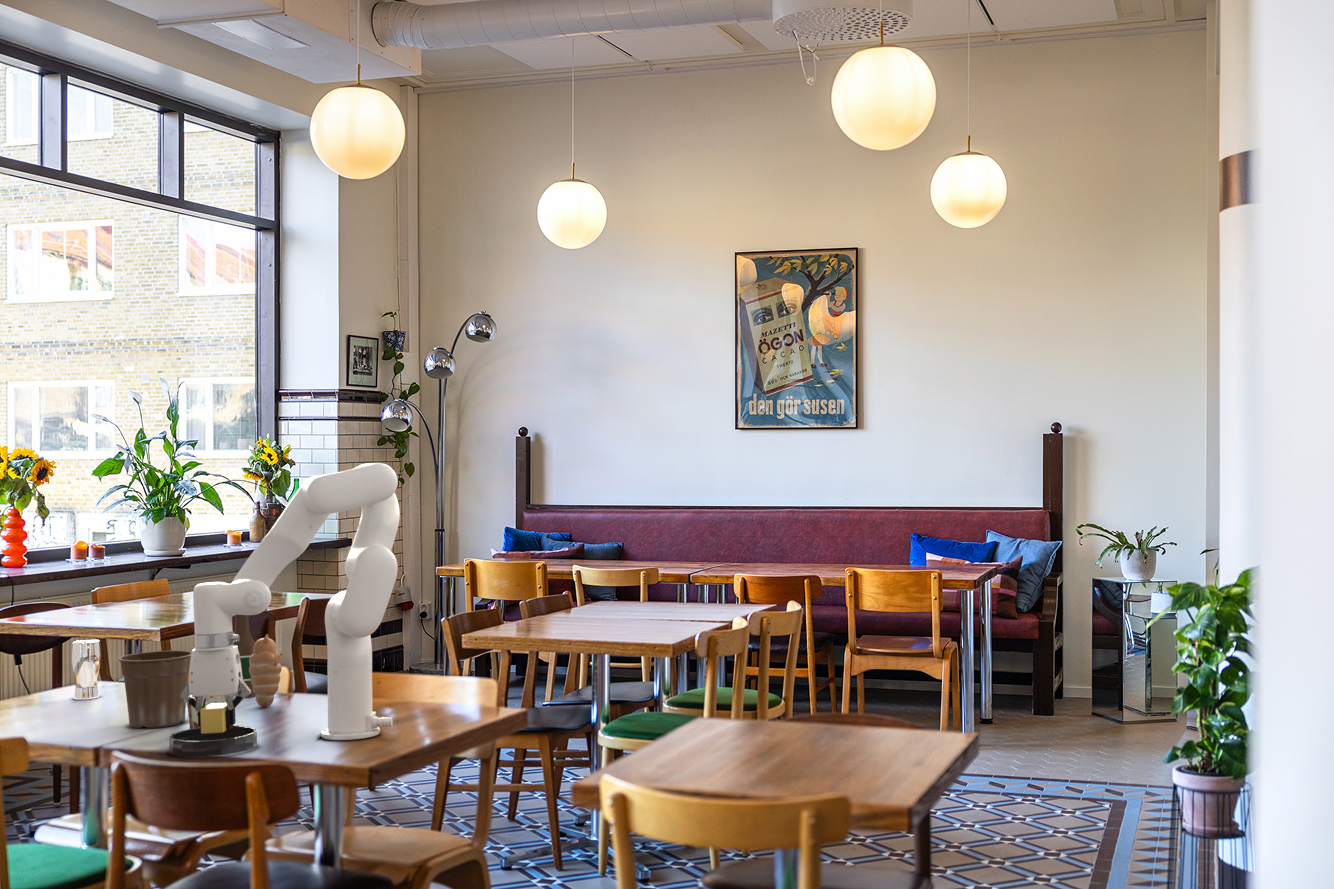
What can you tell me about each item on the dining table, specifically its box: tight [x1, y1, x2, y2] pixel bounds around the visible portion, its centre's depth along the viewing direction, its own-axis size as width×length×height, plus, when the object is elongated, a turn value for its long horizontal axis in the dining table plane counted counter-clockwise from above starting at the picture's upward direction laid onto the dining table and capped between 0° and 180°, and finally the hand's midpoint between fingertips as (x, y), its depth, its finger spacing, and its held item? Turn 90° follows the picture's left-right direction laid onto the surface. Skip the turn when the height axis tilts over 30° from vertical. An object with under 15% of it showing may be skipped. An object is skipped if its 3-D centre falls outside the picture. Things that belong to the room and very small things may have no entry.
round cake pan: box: [168, 725, 258, 757], centre depth 266 cm, size 17×17×4 cm
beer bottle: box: [233, 615, 256, 699], centre depth 337 cm, size 8×8×24 cm
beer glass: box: [71, 639, 102, 701], centre depth 339 cm, size 7×7×15 cm
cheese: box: [200, 703, 227, 734], centre depth 266 cm, size 4×7×5 cm, turn 3°
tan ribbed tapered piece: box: [249, 633, 283, 708], centre depth 319 cm, size 9×8×18 cm
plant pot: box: [117, 650, 192, 729], centre depth 298 cm, size 16×16×16 cm
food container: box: [184, 692, 238, 729], centre depth 284 cm, size 12×6×10 cm, turn 141°
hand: (217, 727), depth 266 cm, fingers closed on cheese, 4 cm apart
